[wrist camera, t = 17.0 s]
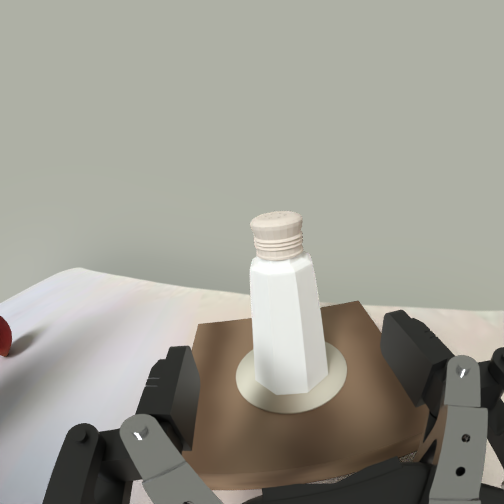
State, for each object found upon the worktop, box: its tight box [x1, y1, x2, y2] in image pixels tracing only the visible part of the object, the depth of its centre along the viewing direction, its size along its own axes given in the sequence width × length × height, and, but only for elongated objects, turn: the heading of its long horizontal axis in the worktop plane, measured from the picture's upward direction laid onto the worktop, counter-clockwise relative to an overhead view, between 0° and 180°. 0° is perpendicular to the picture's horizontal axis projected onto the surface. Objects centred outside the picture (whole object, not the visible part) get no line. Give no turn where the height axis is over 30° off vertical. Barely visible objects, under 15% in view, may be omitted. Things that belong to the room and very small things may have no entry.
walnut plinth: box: [182, 301, 429, 490], centre depth 19 cm, size 16×16×3 cm
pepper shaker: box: [250, 211, 328, 395], centre depth 16 cm, size 5×5×11 cm
